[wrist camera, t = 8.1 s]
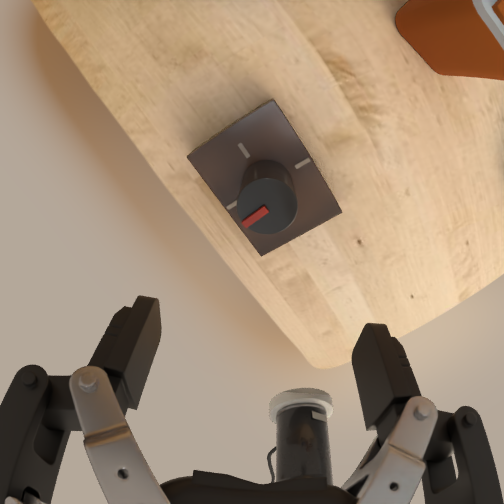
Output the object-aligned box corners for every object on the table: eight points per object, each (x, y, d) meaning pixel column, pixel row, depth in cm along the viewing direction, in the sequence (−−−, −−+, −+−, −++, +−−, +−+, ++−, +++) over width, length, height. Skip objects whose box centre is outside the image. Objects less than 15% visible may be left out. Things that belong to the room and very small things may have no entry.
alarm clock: (444, 85, 22) (538, 101, 11) (386, 21, 20) (466, -10, 8) (502, 17, 16) (585, 16, 4) (454, -41, 14) (529, -69, 2)
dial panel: (337, 202, 30) (342, 213, 27) (261, 244, 32) (261, 257, 30) (272, 98, 25) (273, 99, 23) (192, 151, 28) (185, 157, 25)
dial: (271, 149, 25) (272, 166, 20) (302, 188, 26) (310, 214, 21) (231, 179, 26) (223, 204, 21) (262, 216, 28) (261, 247, 23)
